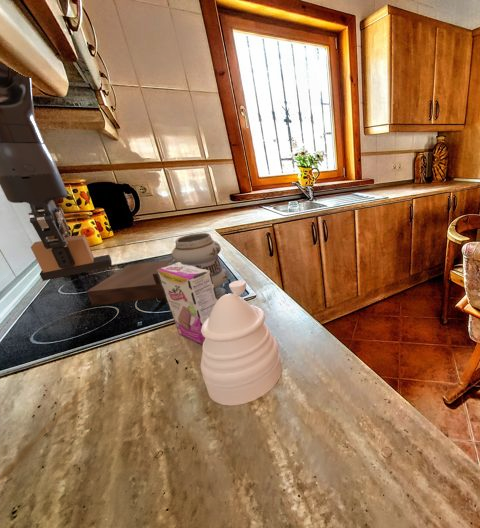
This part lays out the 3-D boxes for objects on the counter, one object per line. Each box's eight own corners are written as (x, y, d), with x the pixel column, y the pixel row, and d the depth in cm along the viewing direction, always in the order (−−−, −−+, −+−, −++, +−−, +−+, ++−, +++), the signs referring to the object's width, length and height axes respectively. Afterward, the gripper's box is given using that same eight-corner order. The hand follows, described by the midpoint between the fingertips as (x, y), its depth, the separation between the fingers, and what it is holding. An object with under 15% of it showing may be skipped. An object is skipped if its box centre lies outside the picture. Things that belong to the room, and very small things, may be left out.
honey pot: (261, 343, 59) (246, 265, 52) (295, 374, 50) (282, 286, 43) (197, 376, 51) (169, 289, 44) (223, 420, 42) (194, 319, 35)
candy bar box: (177, 335, 63) (155, 269, 57) (197, 324, 67) (179, 261, 61) (207, 349, 58) (187, 278, 52) (228, 336, 62) (211, 269, 56)
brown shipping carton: (42, 281, 51) (26, 247, 48) (46, 274, 54) (31, 242, 52) (112, 266, 57) (100, 236, 54) (111, 260, 60) (100, 231, 58)
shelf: (94, 311, 75) (81, 281, 71) (134, 280, 93) (125, 255, 90) (167, 303, 77) (157, 273, 74) (192, 274, 96) (185, 250, 92)
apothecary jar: (179, 298, 80) (161, 238, 73) (221, 283, 88) (207, 228, 81) (195, 312, 72) (176, 247, 65) (239, 294, 80) (226, 235, 73)
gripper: (6, 172, 51) (48, 259, 57) (-19, 175, 41) (35, 280, 47) (62, 170, 55) (95, 250, 62) (52, 171, 45) (93, 268, 51)
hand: (69, 263), depth 54 cm, fingers closed on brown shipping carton, 4 cm apart
